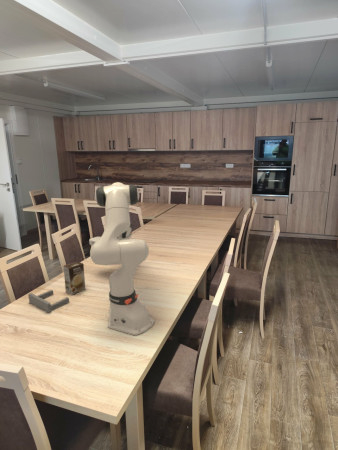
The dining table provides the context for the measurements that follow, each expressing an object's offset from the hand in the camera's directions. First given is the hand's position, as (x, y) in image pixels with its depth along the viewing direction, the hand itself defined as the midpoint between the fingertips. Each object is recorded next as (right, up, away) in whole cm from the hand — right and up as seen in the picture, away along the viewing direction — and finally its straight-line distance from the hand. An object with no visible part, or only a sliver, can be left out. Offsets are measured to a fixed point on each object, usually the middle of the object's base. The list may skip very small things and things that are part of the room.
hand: (93, 247), depth 173 cm
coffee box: (-8, -24, -6) cm, 26 cm away
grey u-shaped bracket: (-18, -28, -19) cm, 38 cm away
